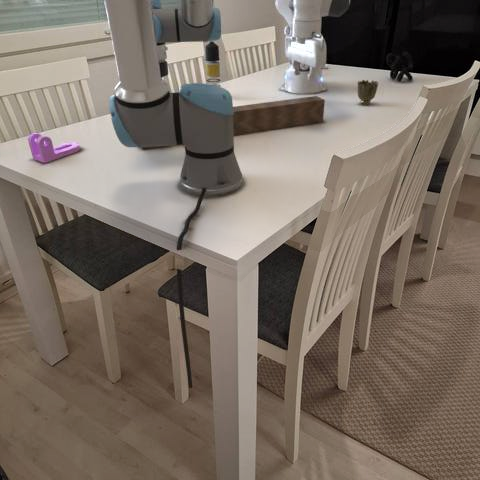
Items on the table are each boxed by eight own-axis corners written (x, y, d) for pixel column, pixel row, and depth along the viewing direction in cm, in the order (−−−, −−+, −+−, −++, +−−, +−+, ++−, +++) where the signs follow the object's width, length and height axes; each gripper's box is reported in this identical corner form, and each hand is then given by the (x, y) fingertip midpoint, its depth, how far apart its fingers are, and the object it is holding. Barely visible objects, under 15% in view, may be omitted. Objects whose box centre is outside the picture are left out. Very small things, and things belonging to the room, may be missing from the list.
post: (142, 149, 131) (138, 124, 127) (138, 143, 136) (135, 119, 132) (323, 122, 151) (324, 99, 147) (314, 117, 155) (316, 95, 151)
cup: (352, 105, 167) (355, 83, 163) (357, 100, 172) (360, 79, 168) (372, 107, 164) (375, 85, 160) (377, 102, 169) (380, 80, 165)
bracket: (44, 163, 123) (37, 138, 119) (33, 158, 126) (26, 134, 122) (83, 149, 132) (78, 126, 128) (72, 145, 135) (67, 122, 131)
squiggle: (400, 92, 202) (376, 71, 205) (417, 76, 202) (392, 56, 205) (405, 81, 191) (380, 59, 194) (423, 64, 191) (397, 42, 194)
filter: (222, 96, 181) (219, 14, 165) (209, 97, 179) (205, 14, 164) (218, 93, 186) (215, 12, 170) (205, 94, 184) (200, 13, 168)
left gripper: (175, 65, 117) (183, 149, 129) (158, 54, 132) (167, 131, 144) (147, 68, 115) (157, 153, 127) (133, 56, 129) (144, 134, 142)
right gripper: (333, 33, 128) (329, 83, 136) (299, 26, 145) (297, 70, 152) (314, 35, 126) (311, 85, 134) (281, 27, 143) (280, 72, 150)
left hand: (162, 141), depth 135 cm, fingers closed on post, 5 cm apart
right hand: (303, 77), depth 143 cm, fingers open, 8 cm apart
